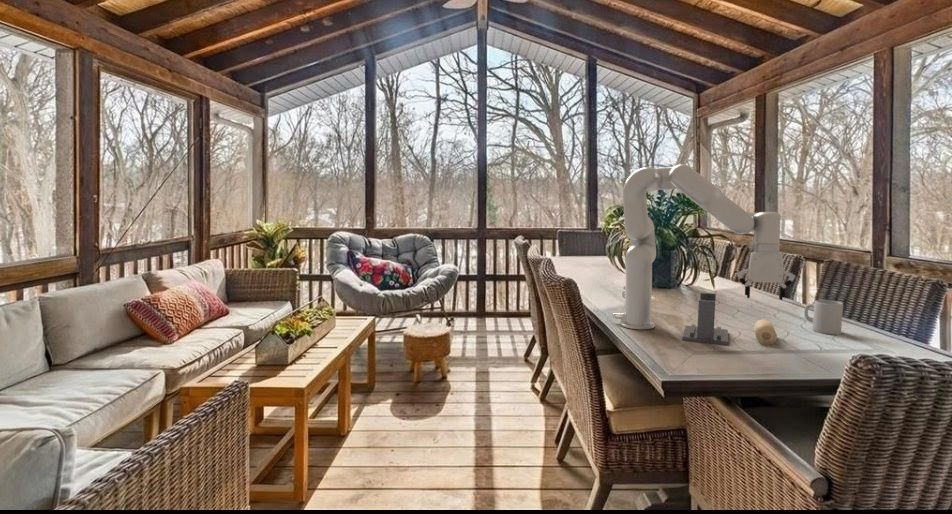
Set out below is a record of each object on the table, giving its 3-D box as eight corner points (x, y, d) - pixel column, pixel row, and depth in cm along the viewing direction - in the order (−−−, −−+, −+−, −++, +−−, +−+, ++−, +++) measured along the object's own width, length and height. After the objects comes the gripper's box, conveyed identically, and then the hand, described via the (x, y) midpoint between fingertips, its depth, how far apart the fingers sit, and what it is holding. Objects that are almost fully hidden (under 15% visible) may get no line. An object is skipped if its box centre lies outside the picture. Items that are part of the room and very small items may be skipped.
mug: (845, 332, 180) (847, 302, 178) (834, 336, 175) (836, 305, 174) (809, 325, 190) (811, 297, 188) (797, 328, 185) (799, 299, 184)
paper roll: (770, 348, 165) (780, 333, 163) (752, 338, 167) (762, 323, 165) (767, 339, 176) (777, 325, 174) (750, 330, 178) (759, 316, 176)
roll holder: (682, 340, 171) (684, 299, 169) (685, 328, 186) (687, 291, 184) (728, 345, 164) (730, 303, 163) (727, 332, 180) (729, 294, 178)
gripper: (737, 249, 168) (736, 298, 170) (798, 250, 160) (795, 302, 162) (737, 247, 175) (735, 294, 176) (795, 248, 167) (792, 298, 169)
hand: (764, 298), depth 169 cm, fingers open, 9 cm apart
